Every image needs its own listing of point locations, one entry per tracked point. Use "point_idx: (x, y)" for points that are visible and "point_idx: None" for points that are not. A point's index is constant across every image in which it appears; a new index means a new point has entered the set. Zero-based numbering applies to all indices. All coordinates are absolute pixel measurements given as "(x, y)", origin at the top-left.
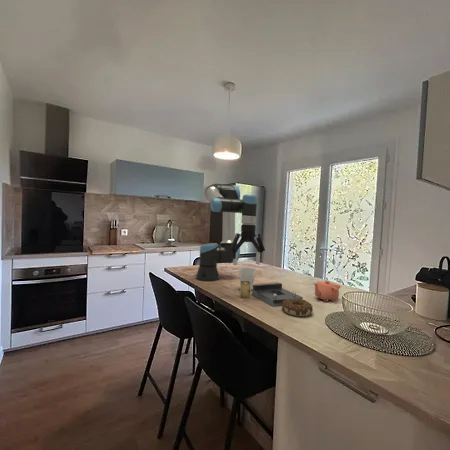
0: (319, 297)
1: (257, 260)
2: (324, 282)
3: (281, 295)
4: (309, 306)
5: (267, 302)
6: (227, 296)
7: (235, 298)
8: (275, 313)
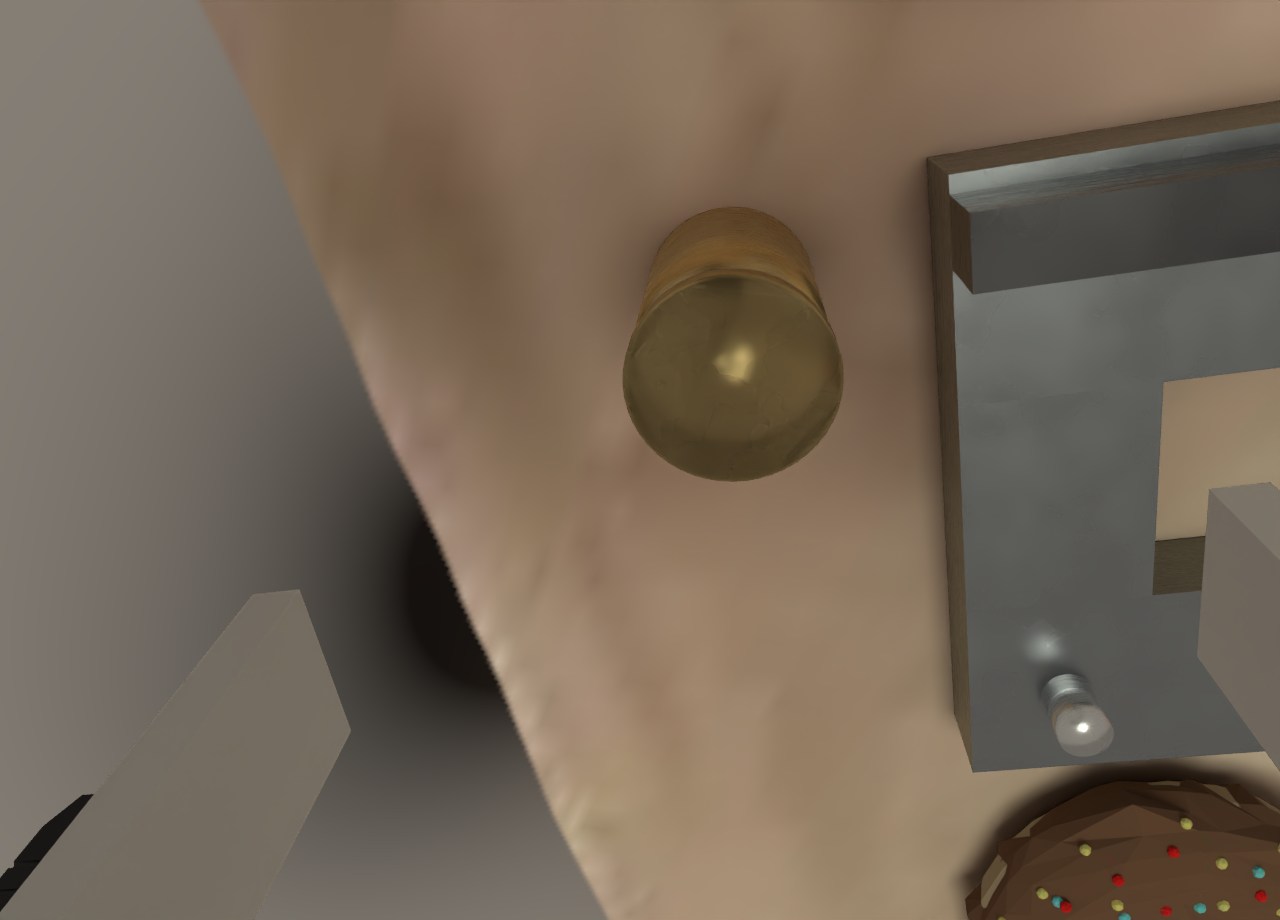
0: None
1: (1277, 674)
2: None
3: None
4: None
5: (952, 615)
6: (435, 210)
7: (548, 332)
8: (860, 875)
